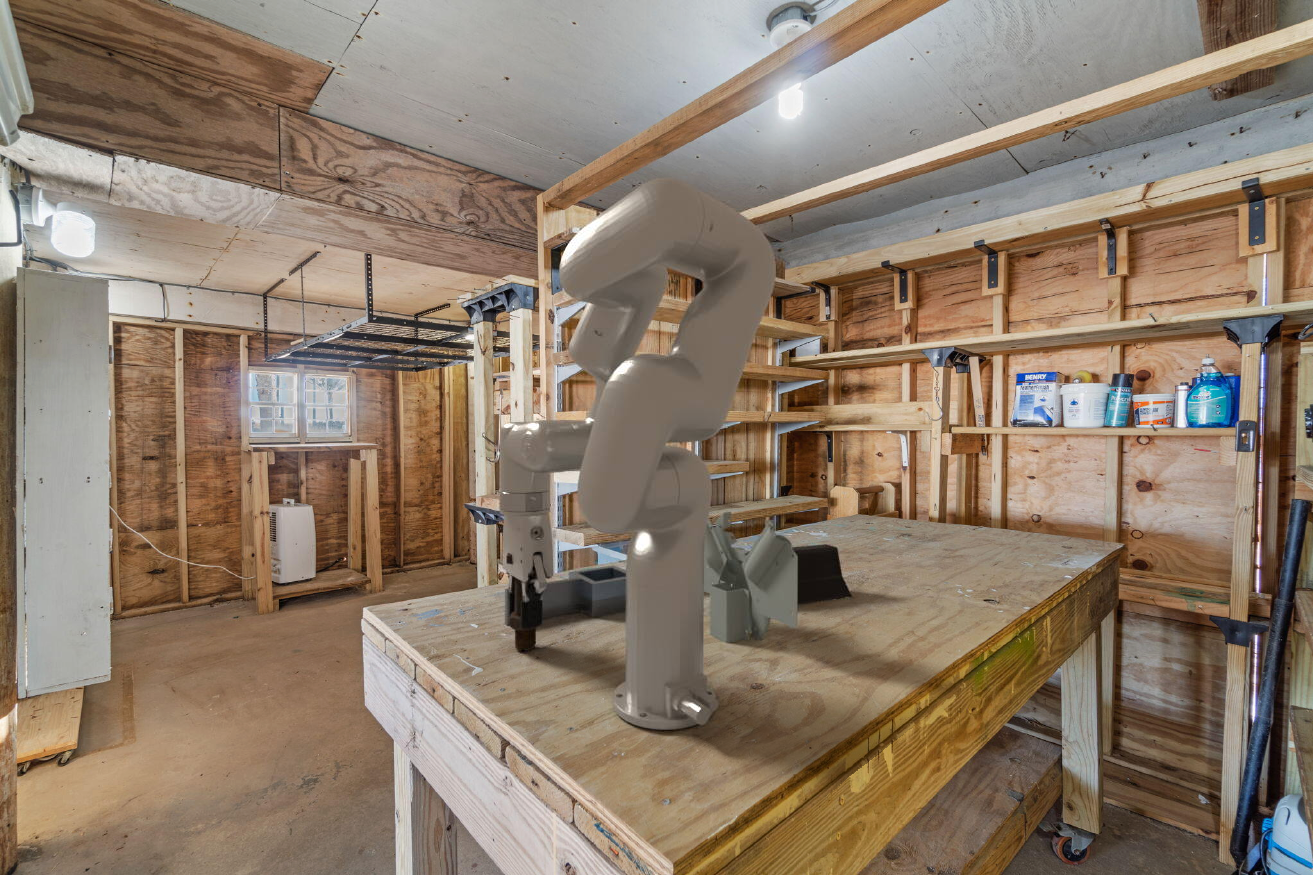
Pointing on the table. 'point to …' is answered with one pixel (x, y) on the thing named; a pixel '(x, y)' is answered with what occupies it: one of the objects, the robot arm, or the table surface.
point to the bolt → (523, 637)
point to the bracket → (749, 582)
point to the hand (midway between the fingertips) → (525, 620)
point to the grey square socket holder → (583, 593)
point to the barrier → (819, 574)
